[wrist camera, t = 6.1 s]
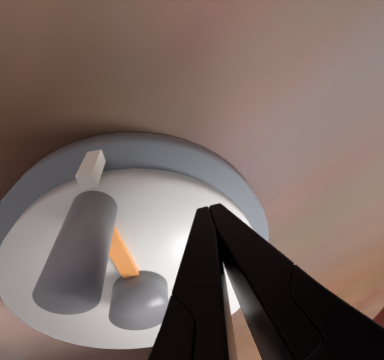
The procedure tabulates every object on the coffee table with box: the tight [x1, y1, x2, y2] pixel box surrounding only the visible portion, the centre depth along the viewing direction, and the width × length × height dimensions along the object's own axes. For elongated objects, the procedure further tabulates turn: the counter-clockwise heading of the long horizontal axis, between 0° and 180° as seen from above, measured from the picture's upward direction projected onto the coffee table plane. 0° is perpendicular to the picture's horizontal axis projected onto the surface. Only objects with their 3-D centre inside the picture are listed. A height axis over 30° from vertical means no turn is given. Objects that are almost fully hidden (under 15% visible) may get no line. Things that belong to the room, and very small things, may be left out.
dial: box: [0, 168, 253, 349], centre depth 12 cm, size 14×14×5 cm
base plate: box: [0, 132, 269, 246], centre depth 15 cm, size 16×16×4 cm
